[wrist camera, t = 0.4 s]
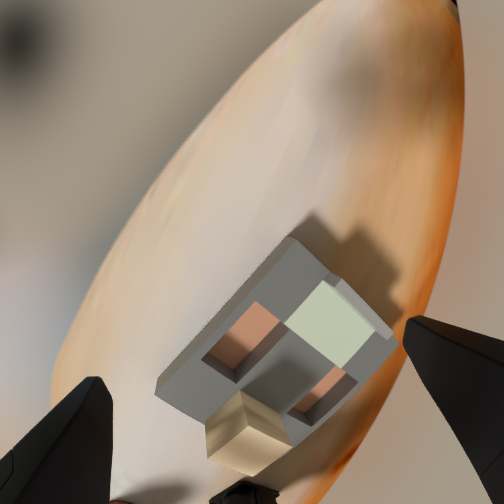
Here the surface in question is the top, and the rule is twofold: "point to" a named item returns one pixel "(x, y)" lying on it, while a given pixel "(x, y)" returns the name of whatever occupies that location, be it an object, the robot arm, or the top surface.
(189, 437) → the top surface
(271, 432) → the maple block
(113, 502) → the supplement bottle
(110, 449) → the robot arm
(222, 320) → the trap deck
